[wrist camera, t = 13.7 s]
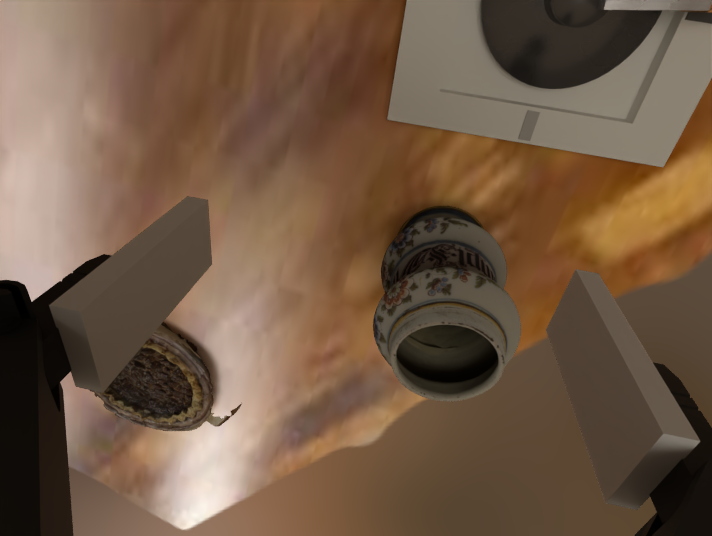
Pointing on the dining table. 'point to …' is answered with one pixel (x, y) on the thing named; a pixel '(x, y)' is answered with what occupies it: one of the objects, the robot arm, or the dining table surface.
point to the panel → (551, 106)
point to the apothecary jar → (446, 306)
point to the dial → (570, 35)
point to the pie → (164, 386)
